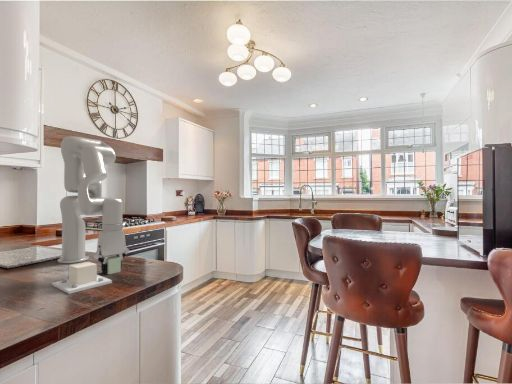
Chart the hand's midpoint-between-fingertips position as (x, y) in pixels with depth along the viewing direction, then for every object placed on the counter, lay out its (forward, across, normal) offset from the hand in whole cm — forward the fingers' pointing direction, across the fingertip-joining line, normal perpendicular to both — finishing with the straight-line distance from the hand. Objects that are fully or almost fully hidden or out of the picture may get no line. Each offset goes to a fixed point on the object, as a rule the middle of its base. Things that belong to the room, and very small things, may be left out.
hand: (111, 270), depth 115 cm
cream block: (0, +14, +7) cm, 16 cm away
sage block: (+1, 0, 0) cm, 1 cm away
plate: (+1, +14, +7) cm, 16 cm away
